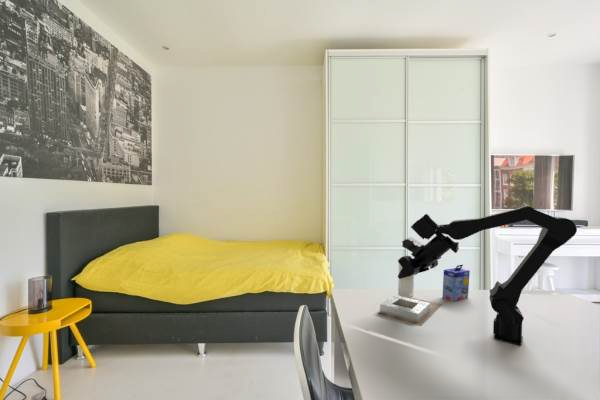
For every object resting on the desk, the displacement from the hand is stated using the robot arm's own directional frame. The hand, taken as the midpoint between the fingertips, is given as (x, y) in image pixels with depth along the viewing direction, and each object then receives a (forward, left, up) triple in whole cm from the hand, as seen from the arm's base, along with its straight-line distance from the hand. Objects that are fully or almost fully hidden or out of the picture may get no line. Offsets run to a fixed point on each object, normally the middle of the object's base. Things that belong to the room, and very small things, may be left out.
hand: (402, 276), depth 109 cm
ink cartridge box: (-11, -29, -13) cm, 34 cm away
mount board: (-2, -4, -13) cm, 14 cm away
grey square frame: (-1, 0, -12) cm, 12 cm away
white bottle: (-1, 0, -6) cm, 7 cm away
